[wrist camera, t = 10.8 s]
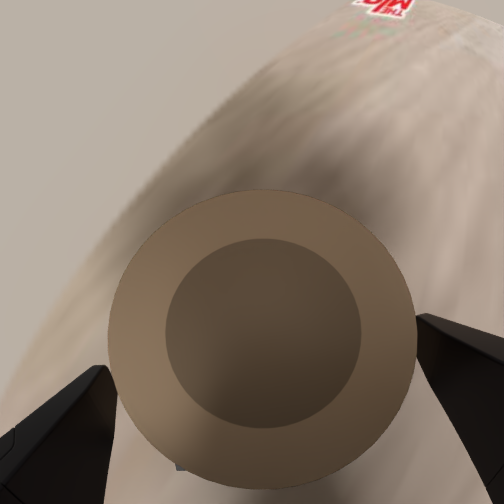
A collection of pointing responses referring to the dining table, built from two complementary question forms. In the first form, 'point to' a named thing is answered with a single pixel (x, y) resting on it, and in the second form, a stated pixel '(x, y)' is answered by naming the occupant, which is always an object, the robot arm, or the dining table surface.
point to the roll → (262, 339)
